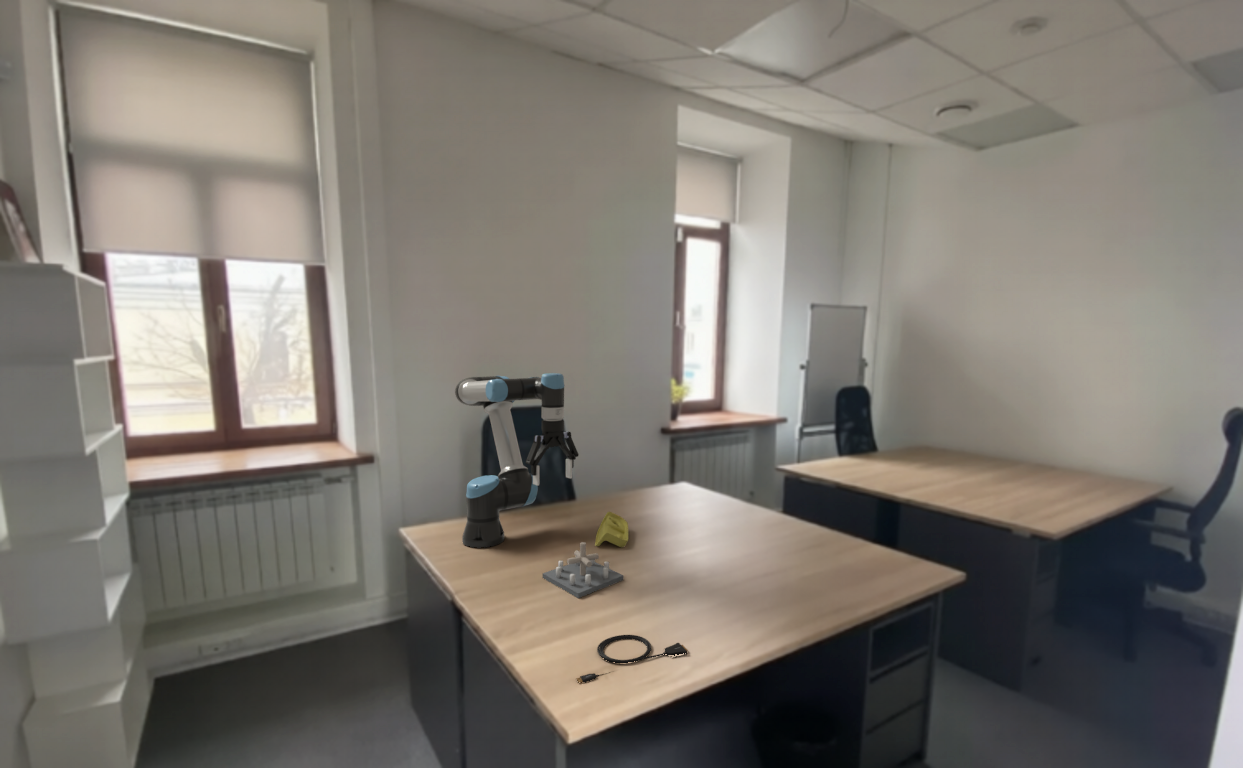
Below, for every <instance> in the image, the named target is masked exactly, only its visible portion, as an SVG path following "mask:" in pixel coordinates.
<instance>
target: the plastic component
mask: <svg viewBox="0 0 1243 768" xmlns="http://www.w3.org/2000/svg"><path fill="white" fill-rule="evenodd" d="M595 535H596V536H595V543H594V546H595V547H599V546H601V545H602V544H603V542H605V541H606V542H608V543H610V544H612V545H614V546H617V547H619V548H625V547H624V546H626V545H627V544H628V541H629V523H628V522H627V520H626V519H625V518H623V517H622V516H620V515H618V514H616V513H614V512H612V511H607V512H606V514H605V516H604V517H603V518H602V521H601V523H600V525H599V527H598V529H597V532H596V534H595Z"/></svg>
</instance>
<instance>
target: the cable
mask: <svg viewBox="0 0 1243 768" xmlns="http://www.w3.org/2000/svg"><path fill="white" fill-rule="evenodd" d="M621 639H623V640H632V639H635V640H634V641H637V640H638V641H637V642H640V641H641V642H640V643H642V642H643V643H642V644H644V645H645V646H647V647H646V651H645V652H644V653H643V654H642V655H640V656H638V657H634V658H630V659H616V658H612V657H610V656H607V654H605V652H604V651H603V650H605V648H606V647H605V646H606V645H607V644H608V645H610V644H611V643H613V641H614V642H616V640H617V641H621ZM608 645H607V646H608ZM664 649H665V651H664V652H663V653H659V654H653V655H650V654H651V653H650V651H651V652H652V646H651V642H650V641H649V640H648V639H647V638H644V637H643V636H640V635H635V634H621V635H620V634H619V635H614V636H611V637H609V638H606V639H604V640H603V641H601V642H600V643H599V644H598V645H597V648H596V651H597V654H598V655H599V657H600V656H601V657H602V658H604V660H603V661H605V660H607V661H609V662H615V663H628V662H634V661H635V662H636V661H638V660H641V661H643V660H645V659H652V657H653V658H657V657H656V656H658V657H661V656H660V655H663V654H664V655H665V654H667V655H674V656H675V654H677V655H679V654H683V653H684V654H685V653H687V651H688V650H689V649H688V648H686V647H685V646H684V644H681V643H680V642H676V643H675V644H673V645H669V646H667V647H665V648H664ZM649 653H650V654H649ZM648 654H649V655H648ZM687 654H688V653H687ZM647 655H648V656H647ZM664 655H663V656H664ZM667 655H666V656H667ZM646 656H647V657H646ZM601 657H600V658H601ZM602 658H601V659H602ZM642 659H643V660H642ZM607 661H606V662H607ZM609 662H608V663H609ZM638 662H639V661H638ZM636 663H637V662H636ZM597 675H598V674H596V673H587V674H584V675H583V674H582V675H581V676H579V677H576V678H575V680H576V679H577V681H578V682H577V681H576V682H577V684H578V683H579V682H585V683H587V682H586V681H589V682H591V681H590V680H592V679H594V678H596V677H597V678H598V676H597ZM594 680H595V679H594ZM592 681H593V680H592Z"/></svg>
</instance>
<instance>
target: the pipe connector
mask: <svg viewBox="0 0 1243 768" xmlns="http://www.w3.org/2000/svg"><path fill="white" fill-rule="evenodd" d="M573 554H574V556H575V557H570V558H567V560H566V563H567V564H566V565H570V564H575V563H580V575H582V576H584V575H586V566H587V567H591V566H592V562H591V561H590V560H595V561H596V560H599V554H598V552H595V553H590V554H587V543H586V541H581V542H580V543H579V550H578V549H576V550H575V551H574V553H573Z"/></svg>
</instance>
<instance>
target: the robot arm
mask: <svg viewBox="0 0 1243 768" xmlns="http://www.w3.org/2000/svg"><path fill="white" fill-rule="evenodd" d="M564 377H565V376H564V375H563V374H562V373H556V372H551V373H550V372H548V373H547V372H546V373H543V374H541V377H539V376H533V377H532V376H531V377H525V378H524V377H523V378H510V377H508V376H504V375H502V376H501V375H495V376H494V375H492V376H490V375H489V376H471V377H467V378H464V379H462V380H460V381H459V382H458V383H457V384H456V387H455V390H454V394H455V398H456V399H457V400H458V402H460V403H461V404H463V405H466V406H469V407H479V406H480V407H481V406H482V408H483V411H484V413H486V414H488V418H489V421H490V424H491V425H490V427H491V430H492V436H493V439H494V445H495V448H496V453H497V458H498V461H499V462H498V463H499V467H500V472H499V473H498V475H491V474H490V475H481V476H478V477H474V478H473V479H471V480H470V481H469V482H468V483H467V485H466V492H465V493H466V494H465V497H466V524H465V526H464V531H463V534H462V537H461V538H462V542H463V543H462V544H463V545H464V546H465V545H466V546H465V547H468V546H470V547H469V548H474V547H477V548H476V549H478V548H481V547H484V548H490V546H491V547H495V546H498V545H500V544H502V543H503V542H504V541H505V530H504V528H503V525H502V523H501V519H500V511H504V510H509V509H514V508H520V507H521V508H522V507H525V506H528V505H531V504H533V503H534V502H535V500H536V499H537V495H538V489H539V487H538V486H540V465H539V463H540V461H541V460H542V458H543V457H544V455H545V454H546V452H547V450H549V449H550V448H554V447H559V448H560V450H561V451H562V453H563V454H564V455H565V456H566V459H565V478H566V479H573V469H574V466H575V465H574V464H575V463H574V462H575V461H574V460H576V458H577V457H579V452H578V450H577V447H576V445H575V443H574V441H573V438H572V432H571V431H568V430H565V420H564V418H565V387H566V386H565V378H564ZM525 400H526V401H531V400H541V419H542V420H541V431H542V432H541V433H542V434H541V435H537V434H535V435H533V442H532V445H531V447H530V450H529V452H528V454H527V458H526V460H525V464H526V465H530V472H529V468H528V467H526V466H525V465H524V464H523V460H522V456H521V451H520V446H519V443H518V438H517V433H516V429H515V424H514V419H513V416H512V412H511V409H512V408H513V405H514V402H516V401H525ZM563 439H564V440H565V442H564V441H563ZM481 549H482V548H481Z"/></svg>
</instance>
